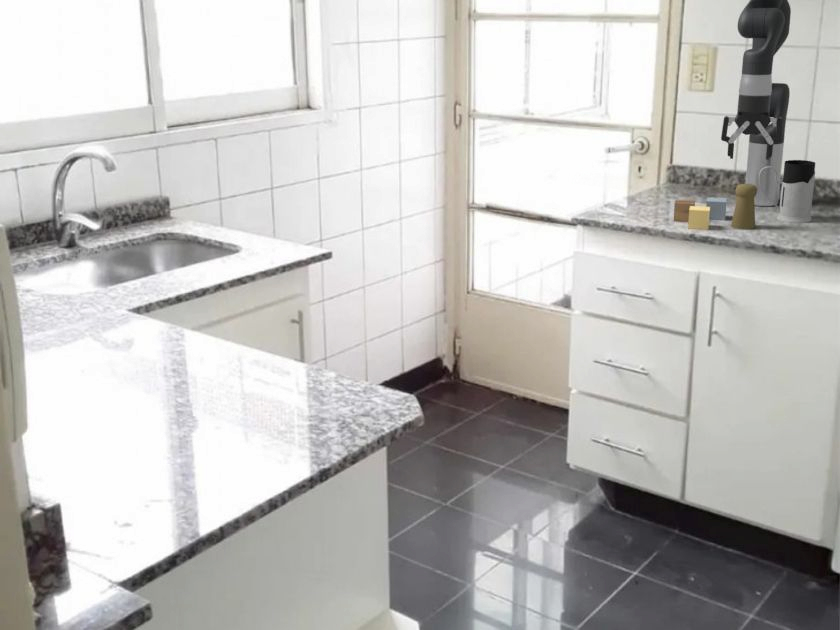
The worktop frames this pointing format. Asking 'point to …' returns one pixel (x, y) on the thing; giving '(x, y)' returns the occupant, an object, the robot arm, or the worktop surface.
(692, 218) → the mustard block
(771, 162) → the robot arm
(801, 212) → the glass holder
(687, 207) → the walnut block
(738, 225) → the cork
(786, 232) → the worktop surface
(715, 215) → the slate block
